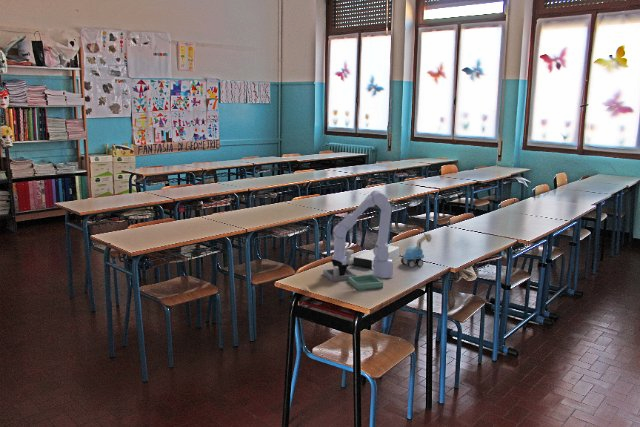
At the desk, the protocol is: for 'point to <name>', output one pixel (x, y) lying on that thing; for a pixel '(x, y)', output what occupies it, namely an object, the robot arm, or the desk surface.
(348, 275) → the bin
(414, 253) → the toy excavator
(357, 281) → the bin
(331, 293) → the desk surface
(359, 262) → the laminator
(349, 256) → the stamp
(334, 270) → the light gray block
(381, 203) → the robot arm
